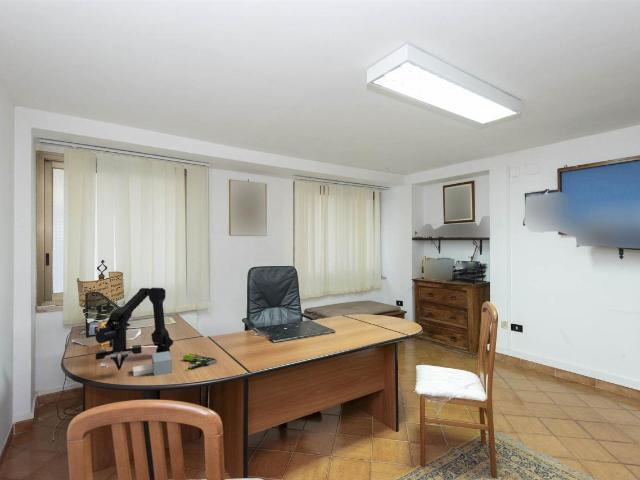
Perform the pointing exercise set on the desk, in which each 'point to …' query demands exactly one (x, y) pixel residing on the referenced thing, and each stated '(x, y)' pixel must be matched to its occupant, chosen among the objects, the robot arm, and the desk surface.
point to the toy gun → (199, 361)
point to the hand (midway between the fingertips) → (119, 369)
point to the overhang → (162, 363)
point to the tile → (143, 369)
